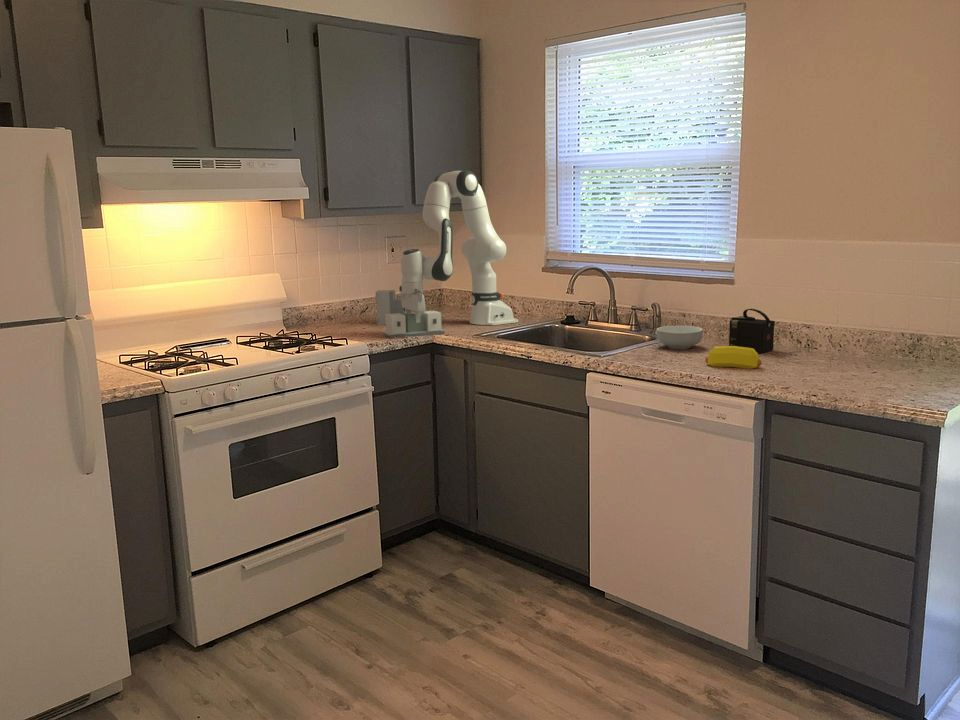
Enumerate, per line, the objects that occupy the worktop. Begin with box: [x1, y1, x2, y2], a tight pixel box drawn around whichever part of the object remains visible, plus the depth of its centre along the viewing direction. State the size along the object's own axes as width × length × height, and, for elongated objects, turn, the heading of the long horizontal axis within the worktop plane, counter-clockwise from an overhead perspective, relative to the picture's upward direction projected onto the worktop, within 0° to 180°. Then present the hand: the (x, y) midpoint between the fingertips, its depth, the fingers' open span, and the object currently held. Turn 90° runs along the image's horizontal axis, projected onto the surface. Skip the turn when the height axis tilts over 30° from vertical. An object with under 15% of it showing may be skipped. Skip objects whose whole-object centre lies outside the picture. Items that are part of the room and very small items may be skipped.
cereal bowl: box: [656, 325, 704, 350], centre depth 307 cm, size 17×17×7 cm
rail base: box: [382, 310, 446, 339], centre depth 347 cm, size 24×10×9 cm, turn 114°
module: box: [404, 312, 424, 332], centre depth 347 cm, size 7×5×8 cm
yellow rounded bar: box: [704, 345, 763, 370], centre depth 270 cm, size 18×7×8 cm
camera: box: [728, 308, 776, 354], centre depth 298 cm, size 11×14×15 cm
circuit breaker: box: [374, 289, 406, 325], centre depth 381 cm, size 8×14×15 cm, turn 89°
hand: (413, 321), depth 347 cm, fingers open, 8 cm apart
